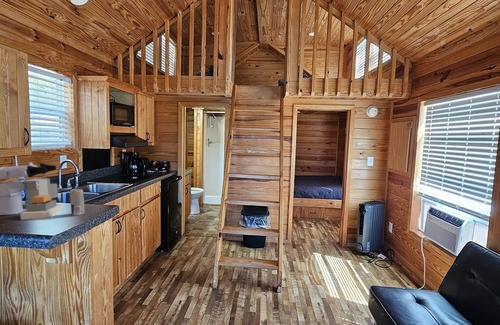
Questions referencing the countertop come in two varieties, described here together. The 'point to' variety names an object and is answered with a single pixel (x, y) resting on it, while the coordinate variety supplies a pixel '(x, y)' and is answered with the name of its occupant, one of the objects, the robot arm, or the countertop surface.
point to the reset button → (40, 198)
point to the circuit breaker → (39, 188)
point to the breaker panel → (41, 210)
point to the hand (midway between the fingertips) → (51, 168)
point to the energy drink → (77, 202)
